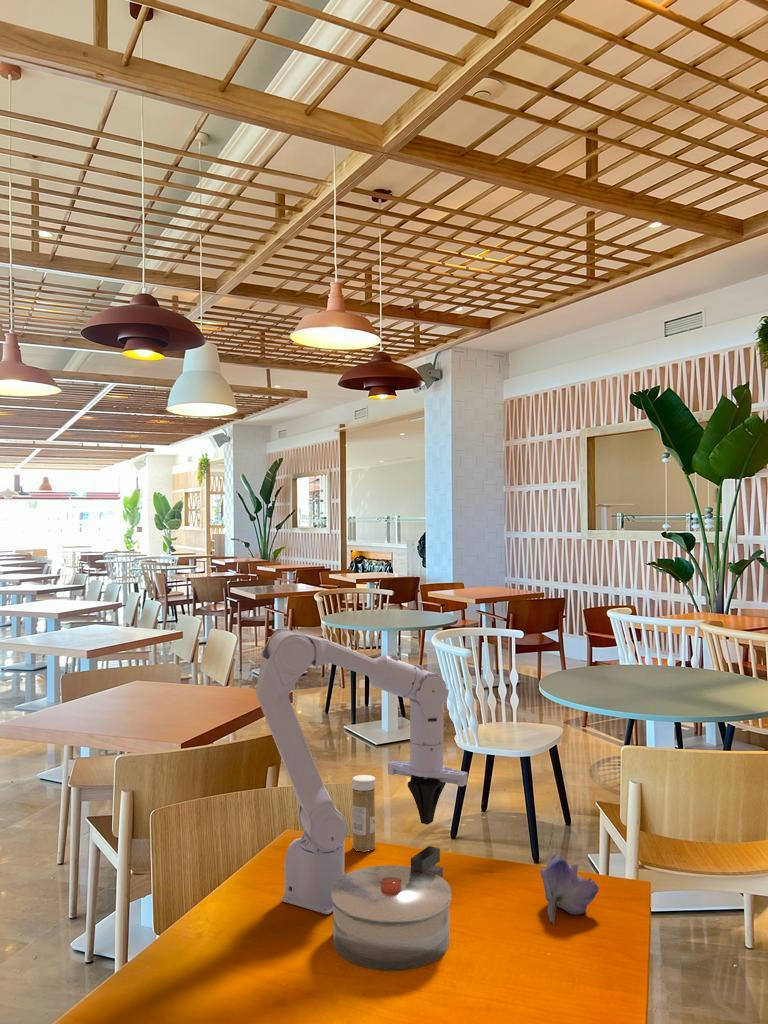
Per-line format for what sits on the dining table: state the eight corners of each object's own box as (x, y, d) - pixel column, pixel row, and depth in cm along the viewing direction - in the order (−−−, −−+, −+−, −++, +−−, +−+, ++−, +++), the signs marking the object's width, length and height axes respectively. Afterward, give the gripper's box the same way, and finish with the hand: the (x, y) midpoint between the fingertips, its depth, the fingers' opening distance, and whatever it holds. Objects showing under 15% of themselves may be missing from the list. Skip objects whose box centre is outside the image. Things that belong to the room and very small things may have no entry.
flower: (574, 892, 110) (577, 840, 118) (523, 904, 113) (530, 853, 122) (606, 937, 111) (606, 882, 120) (554, 947, 115) (558, 894, 124)
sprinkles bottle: (380, 849, 143) (380, 778, 144) (359, 855, 140) (359, 782, 141) (367, 842, 147) (367, 772, 148) (347, 847, 144) (347, 776, 145)
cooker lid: (413, 936, 97) (413, 916, 98) (306, 904, 107) (306, 885, 107) (484, 875, 116) (484, 858, 116) (388, 852, 126) (388, 836, 126)
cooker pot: (414, 984, 97) (414, 936, 98) (309, 949, 106) (309, 905, 107) (484, 912, 117) (484, 873, 117) (391, 888, 126) (391, 852, 126)
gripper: (474, 741, 129) (475, 822, 128) (401, 732, 136) (401, 808, 135) (457, 750, 123) (457, 835, 122) (381, 740, 130) (381, 820, 129)
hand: (427, 822), depth 128 cm, fingers closed
